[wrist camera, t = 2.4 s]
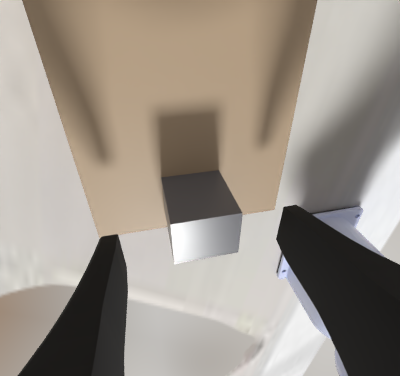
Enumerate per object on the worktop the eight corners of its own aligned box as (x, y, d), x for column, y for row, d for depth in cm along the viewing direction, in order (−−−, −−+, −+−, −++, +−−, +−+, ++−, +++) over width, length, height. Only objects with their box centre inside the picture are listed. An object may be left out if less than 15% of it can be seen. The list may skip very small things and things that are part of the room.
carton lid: (270, 203, 17) (305, 252, 13) (100, 230, 15) (92, 294, 12) (336, -148, 8) (470, -245, 5) (-32, -188, 7) (-192, -380, 3)
